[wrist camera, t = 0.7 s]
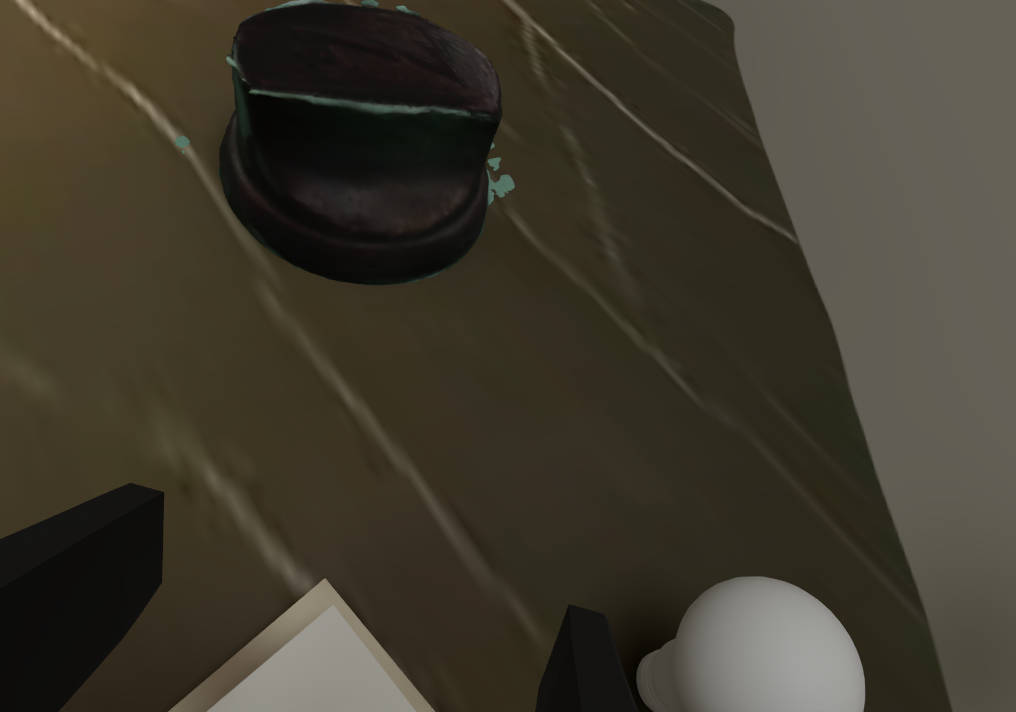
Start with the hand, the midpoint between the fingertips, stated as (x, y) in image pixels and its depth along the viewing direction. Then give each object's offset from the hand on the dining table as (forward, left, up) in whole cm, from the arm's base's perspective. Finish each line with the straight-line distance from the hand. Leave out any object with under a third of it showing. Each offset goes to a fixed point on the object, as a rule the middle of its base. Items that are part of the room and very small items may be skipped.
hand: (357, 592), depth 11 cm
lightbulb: (+10, -11, -17) cm, 23 cm away
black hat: (+18, +20, -17) cm, 32 cm away
